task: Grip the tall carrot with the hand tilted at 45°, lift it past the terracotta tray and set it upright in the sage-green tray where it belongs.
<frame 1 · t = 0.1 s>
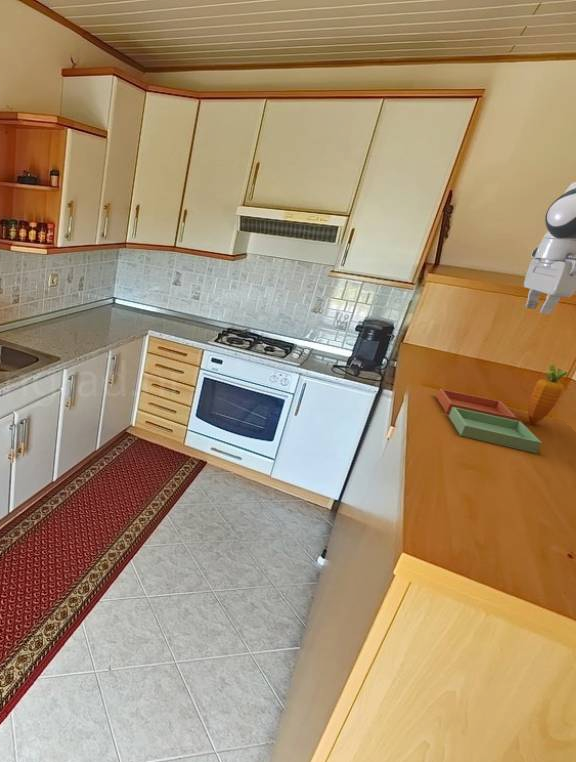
hand: (536, 311, 119), 26 cm above the worktop, tool pointing down, fingers open, 8 cm apart
carrot: (531, 425, 120), on the worktop
terracotta tray: (471, 411, 124), on the worktop
green tray: (489, 433, 111), on the worktop
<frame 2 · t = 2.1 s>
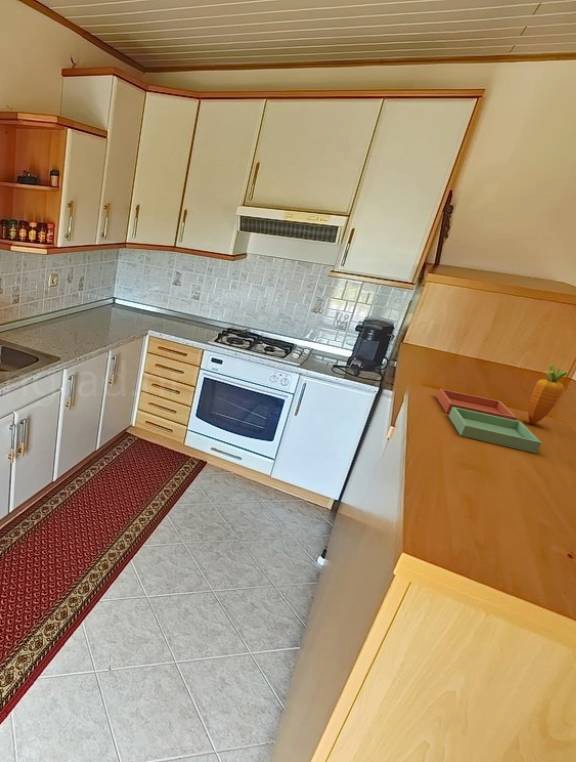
nothing on the worktop moved.
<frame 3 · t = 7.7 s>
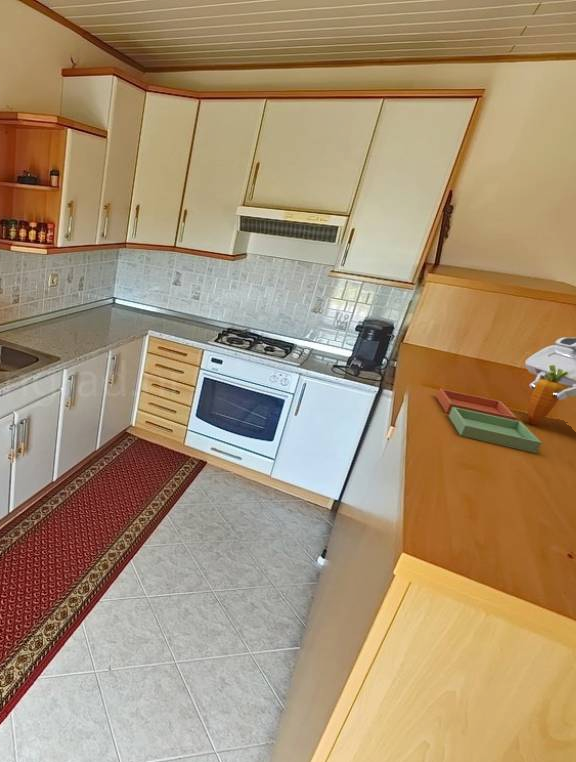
hand: (544, 392, 117), 8 cm above the worktop, tool tilted 45°, fingers closed on carrot, 4 cm apart
carrot: (531, 425, 120), on the worktop, touching gripper
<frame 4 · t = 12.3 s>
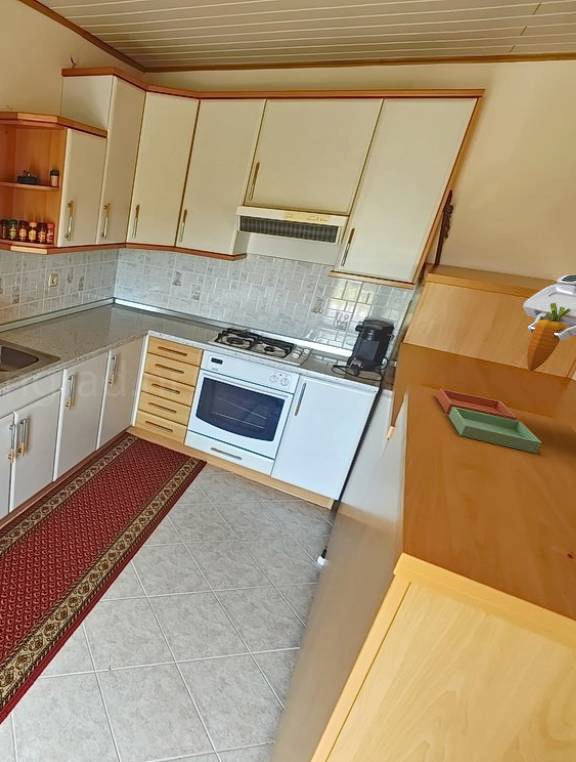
hand: (544, 334, 105), 23 cm above the worktop, tool tilted 45°, fingers closed on carrot, 4 cm apart
carrot: (530, 371, 108), point 15 cm above the worktop, touching gripper
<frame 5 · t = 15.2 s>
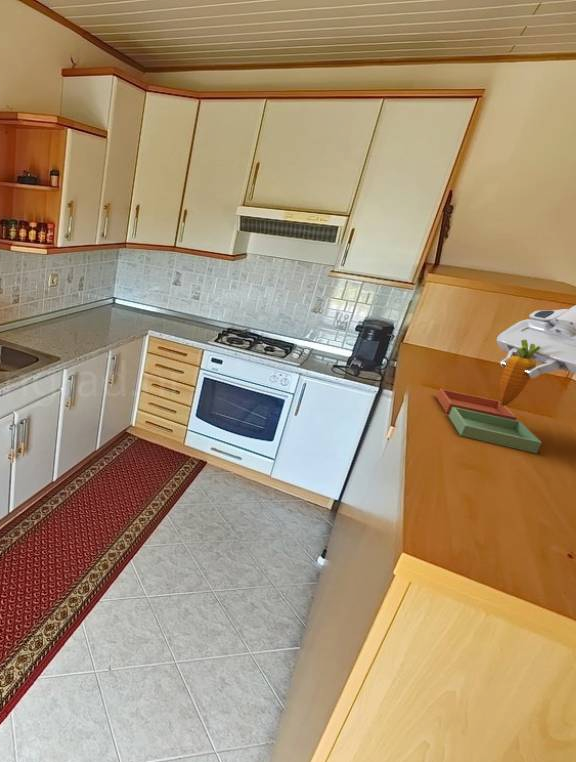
hand: (515, 370, 106), 15 cm above the worktop, tool tilted 45°, fingers closed on carrot, 4 cm apart
carrot: (502, 406, 109), point 7 cm above the worktop, touching gripper
when the fingers open (9 cm above the worktop, at t = 17.4 s): carrot stays where it is, resting in green tray.
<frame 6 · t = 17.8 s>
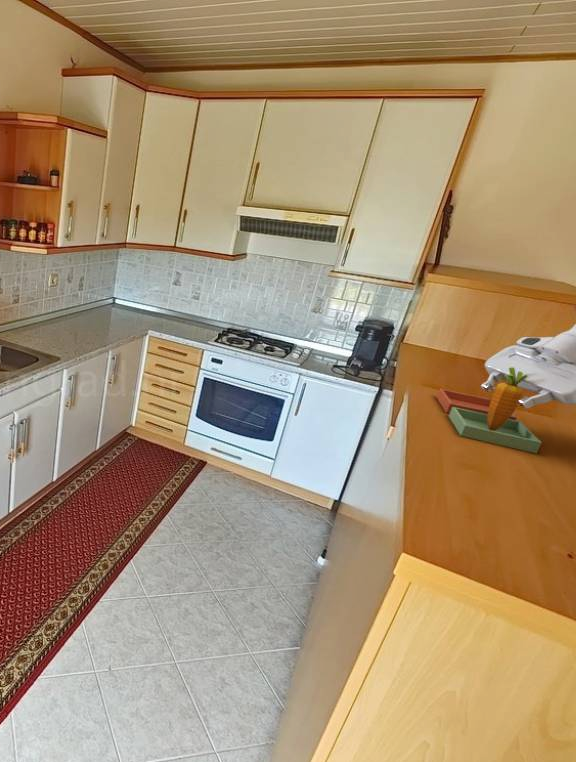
hand: (502, 396, 108), 9 cm above the worktop, tool tilted 45°, fingers open, 8 cm apart
carrot: (490, 432, 111), resting in green tray
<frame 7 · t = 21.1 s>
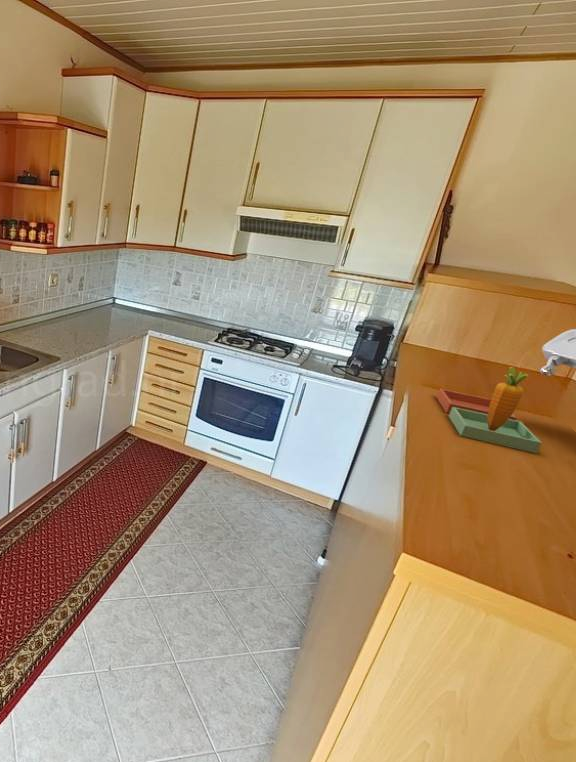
hand: (564, 380, 107), 14 cm above the worktop, tool tilted 45°, fingers open, 8 cm apart
carrot: (490, 432, 111), resting in green tray
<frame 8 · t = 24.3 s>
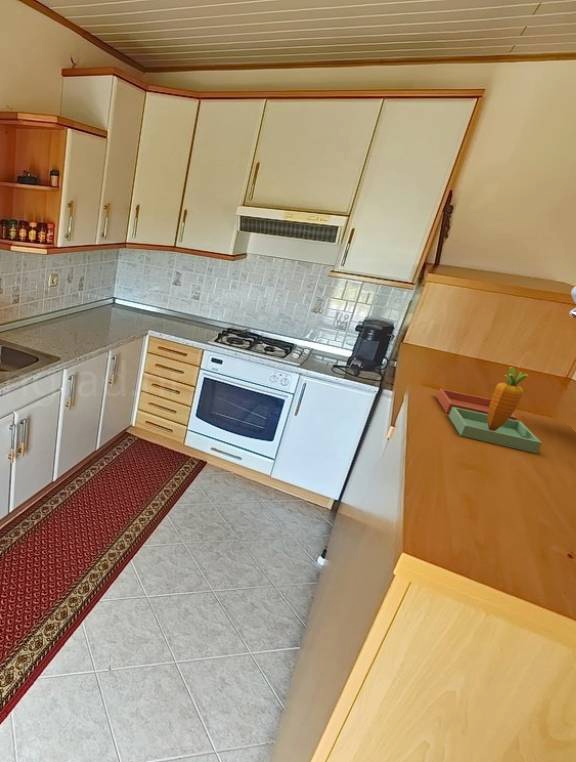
nothing on the worktop moved.
at the end: carrot inside the target area in the green tray (0.2 cm from its centre), point 0.4 cm above the green tray's base; carrot tilted 0°; the gripper is holding nothing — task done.
